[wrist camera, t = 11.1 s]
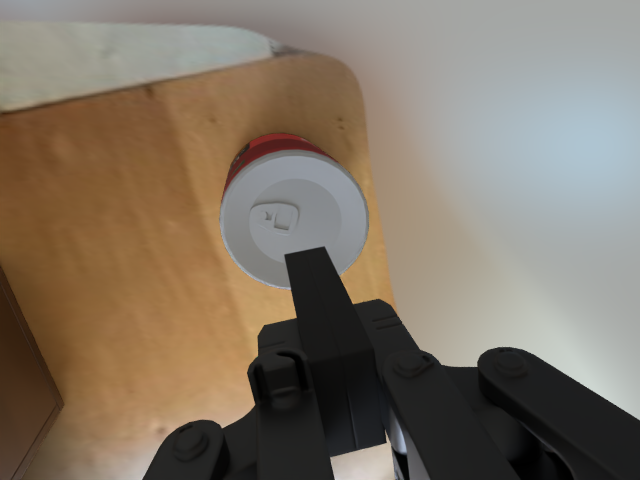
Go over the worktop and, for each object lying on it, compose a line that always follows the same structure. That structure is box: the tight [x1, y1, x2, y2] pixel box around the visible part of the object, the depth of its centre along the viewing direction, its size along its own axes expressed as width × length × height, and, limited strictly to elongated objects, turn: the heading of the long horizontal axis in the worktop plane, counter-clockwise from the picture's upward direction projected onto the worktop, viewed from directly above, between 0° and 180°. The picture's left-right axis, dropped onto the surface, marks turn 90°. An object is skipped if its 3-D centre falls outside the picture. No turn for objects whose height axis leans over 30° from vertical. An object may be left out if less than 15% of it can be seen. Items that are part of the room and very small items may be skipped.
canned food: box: [219, 133, 369, 290], centre depth 28 cm, size 8×8×11 cm
